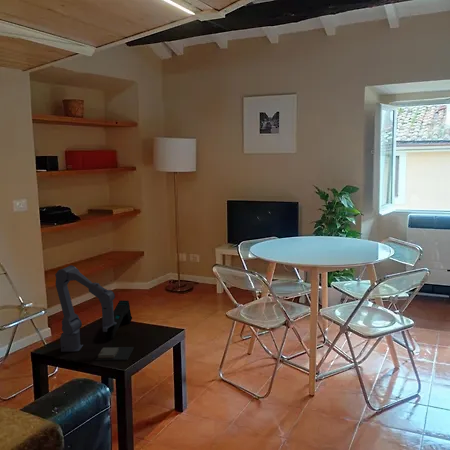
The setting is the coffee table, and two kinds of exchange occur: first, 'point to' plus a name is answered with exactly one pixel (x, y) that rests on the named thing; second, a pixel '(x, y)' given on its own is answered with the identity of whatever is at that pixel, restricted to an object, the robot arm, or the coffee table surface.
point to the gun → (121, 315)
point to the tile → (108, 353)
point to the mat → (118, 354)
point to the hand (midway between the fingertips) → (109, 340)
